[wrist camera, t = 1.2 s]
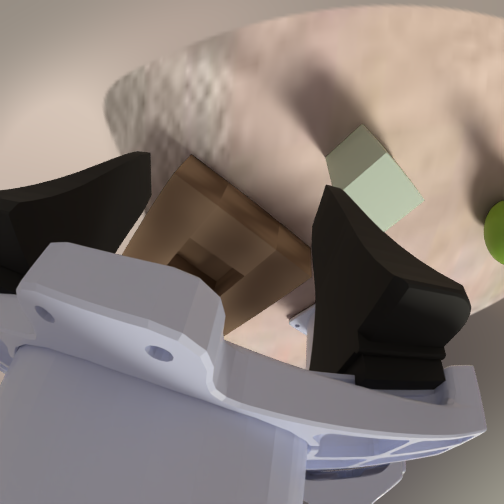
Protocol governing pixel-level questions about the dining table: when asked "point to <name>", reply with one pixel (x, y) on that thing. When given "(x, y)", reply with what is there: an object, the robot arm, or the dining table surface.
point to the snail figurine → (495, 231)
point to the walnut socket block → (221, 242)
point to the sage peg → (372, 178)
